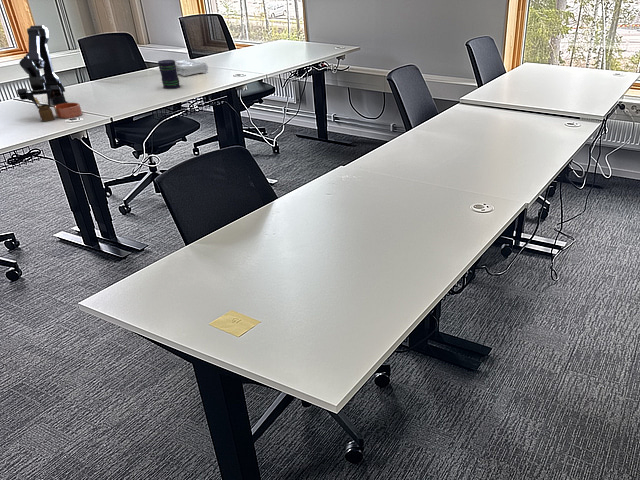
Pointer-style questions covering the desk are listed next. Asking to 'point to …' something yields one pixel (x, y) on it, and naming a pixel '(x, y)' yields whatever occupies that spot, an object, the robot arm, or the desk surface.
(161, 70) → the storage jar
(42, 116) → the utensil holder
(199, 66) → the white plastic package
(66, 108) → the pot
